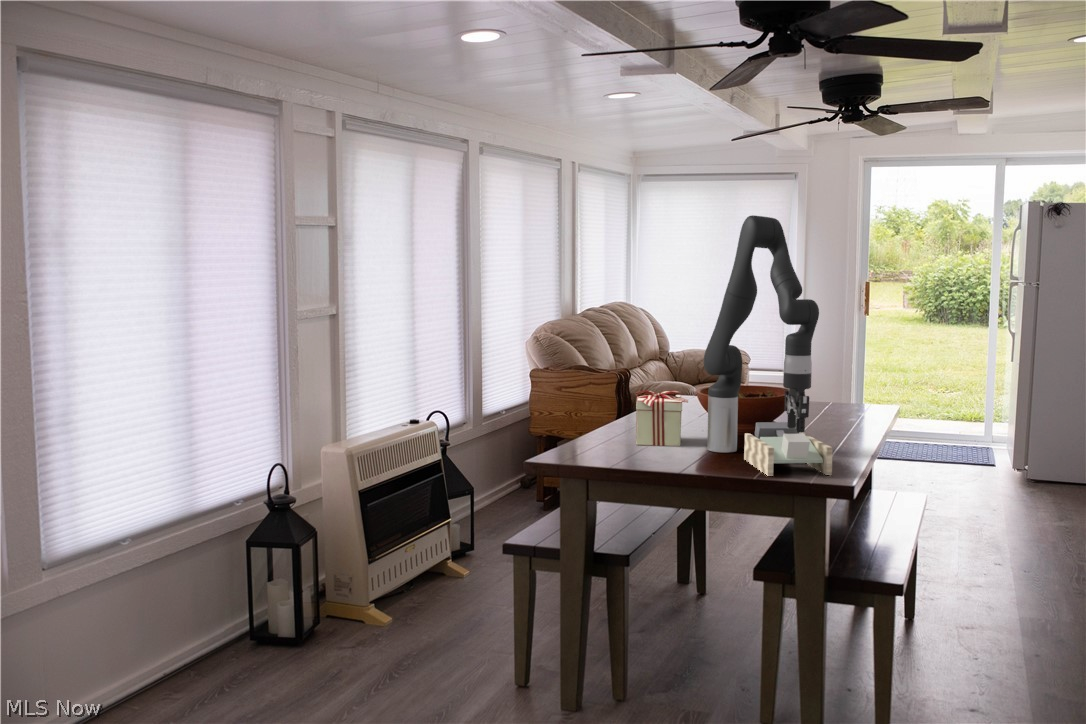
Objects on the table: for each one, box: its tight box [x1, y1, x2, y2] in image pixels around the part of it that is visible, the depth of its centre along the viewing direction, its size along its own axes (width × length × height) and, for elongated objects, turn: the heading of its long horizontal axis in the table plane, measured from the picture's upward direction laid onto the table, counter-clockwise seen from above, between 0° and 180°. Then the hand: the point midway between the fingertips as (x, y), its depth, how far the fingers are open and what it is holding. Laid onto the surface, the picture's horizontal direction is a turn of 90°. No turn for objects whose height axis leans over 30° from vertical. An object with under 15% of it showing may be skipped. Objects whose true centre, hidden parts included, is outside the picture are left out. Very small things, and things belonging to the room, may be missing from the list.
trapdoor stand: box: [743, 432, 834, 477], centre depth 273 cm, size 24×18×8 cm
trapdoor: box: [754, 421, 823, 464], centre depth 274 cm, size 22×14×4 cm, turn 3°
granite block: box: [781, 433, 810, 458], centre depth 265 cm, size 5×6×5 cm
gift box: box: [635, 390, 689, 447], centre depth 312 cm, size 17×18×17 cm
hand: (795, 429), depth 265 cm, fingers open, 7 cm apart
